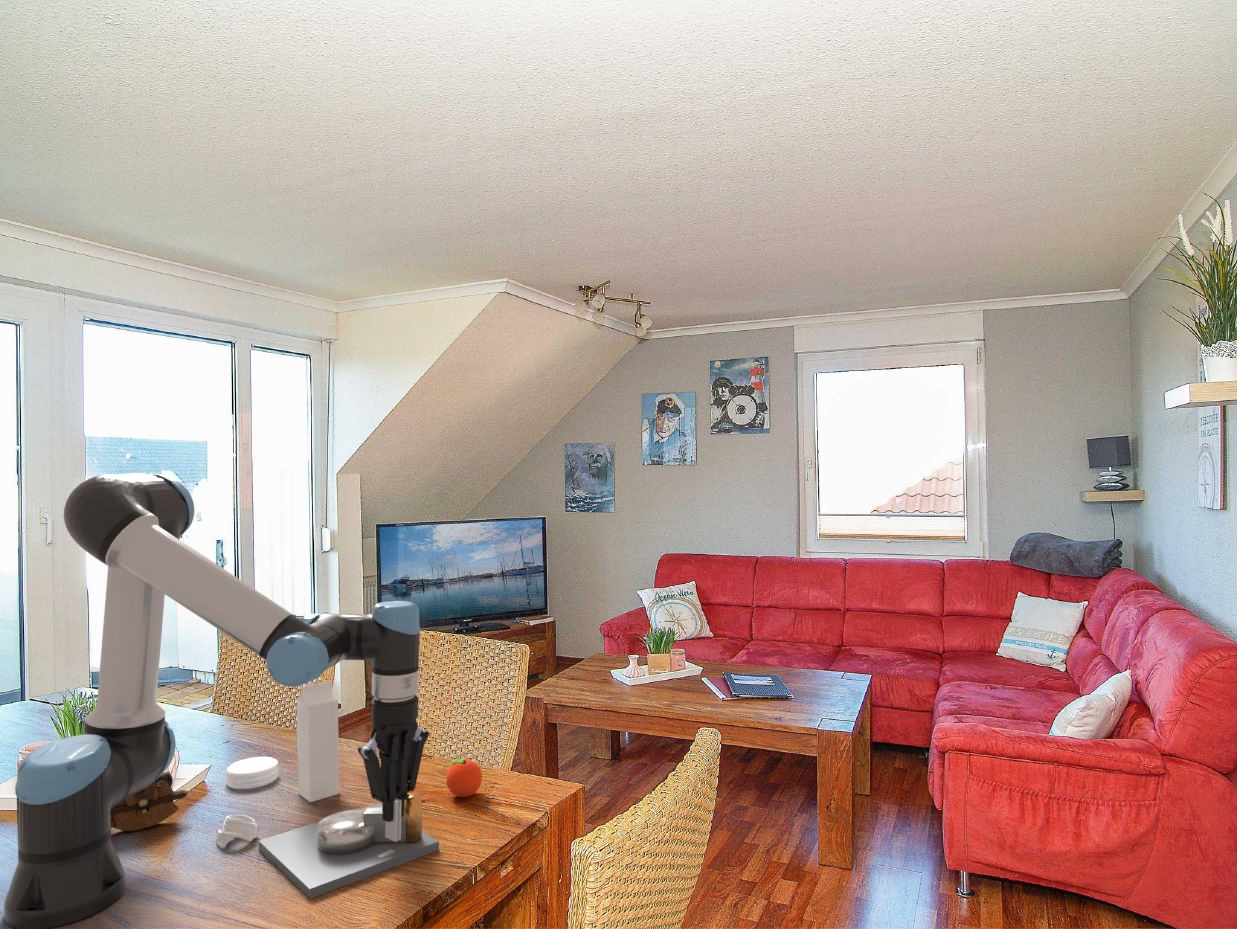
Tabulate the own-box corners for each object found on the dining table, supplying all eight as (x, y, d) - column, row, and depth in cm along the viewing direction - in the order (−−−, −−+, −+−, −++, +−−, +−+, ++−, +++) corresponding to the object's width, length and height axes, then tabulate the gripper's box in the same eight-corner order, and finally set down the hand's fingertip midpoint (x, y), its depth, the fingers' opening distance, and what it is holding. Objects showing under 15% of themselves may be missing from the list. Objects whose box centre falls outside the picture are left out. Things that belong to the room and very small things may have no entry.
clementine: (435, 801, 158) (434, 764, 158) (450, 787, 165) (450, 751, 165) (473, 804, 156) (473, 767, 156) (487, 790, 163) (487, 754, 163)
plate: (309, 898, 123) (309, 887, 123) (258, 849, 139) (258, 839, 139) (439, 850, 138) (438, 840, 138) (379, 810, 154) (379, 801, 154)
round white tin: (260, 791, 165) (260, 774, 165) (215, 789, 166) (215, 772, 166) (288, 773, 174) (287, 756, 174) (245, 771, 176) (245, 754, 176)
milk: (339, 794, 162) (338, 683, 162) (309, 803, 158) (308, 689, 158) (326, 785, 167) (325, 677, 167) (297, 793, 163) (296, 683, 163)
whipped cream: (212, 843, 144) (208, 816, 144) (251, 828, 149) (248, 801, 148) (223, 856, 138) (219, 827, 138) (265, 840, 142) (261, 812, 142)
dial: (307, 854, 134) (306, 810, 134) (329, 827, 144) (328, 785, 144) (414, 852, 134) (413, 808, 134) (428, 825, 144) (427, 784, 144)
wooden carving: (84, 846, 142) (83, 788, 142) (84, 836, 145) (83, 780, 145) (190, 821, 151) (189, 767, 151) (187, 813, 155) (187, 760, 154)
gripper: (377, 709, 128) (374, 859, 128) (439, 692, 138) (437, 831, 138) (348, 700, 132) (346, 845, 132) (411, 684, 143) (409, 819, 142)
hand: (393, 838), depth 135 cm, fingers closed
